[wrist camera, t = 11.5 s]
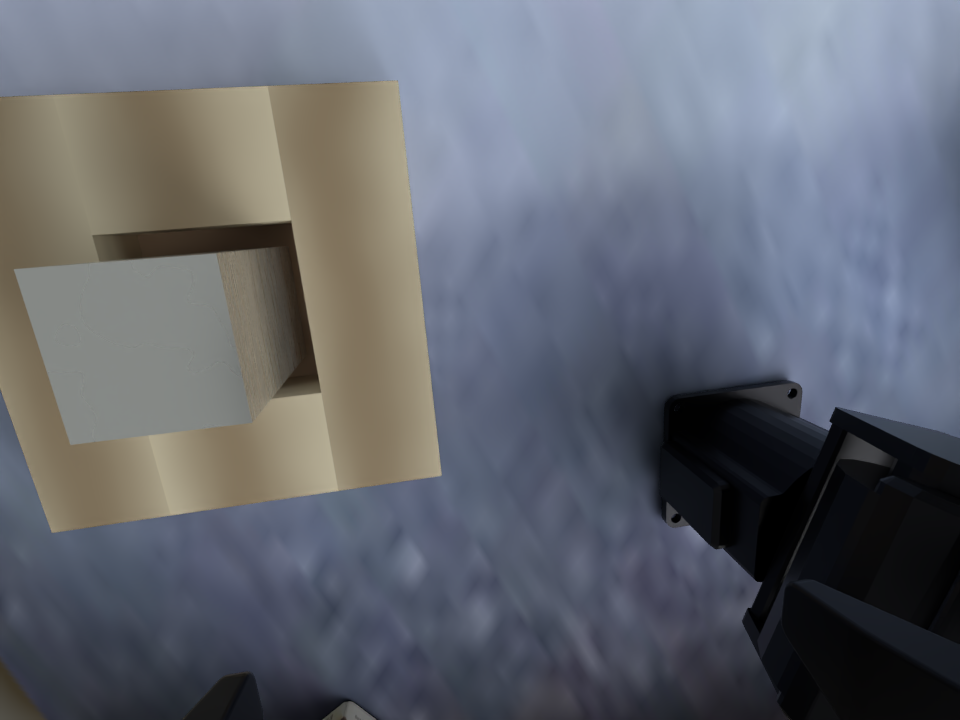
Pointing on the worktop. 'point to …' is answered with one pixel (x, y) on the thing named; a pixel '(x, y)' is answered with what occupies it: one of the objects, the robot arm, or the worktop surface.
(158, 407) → the grey rectangular block
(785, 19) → the worktop surface
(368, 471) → the well block
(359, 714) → the cookie box
